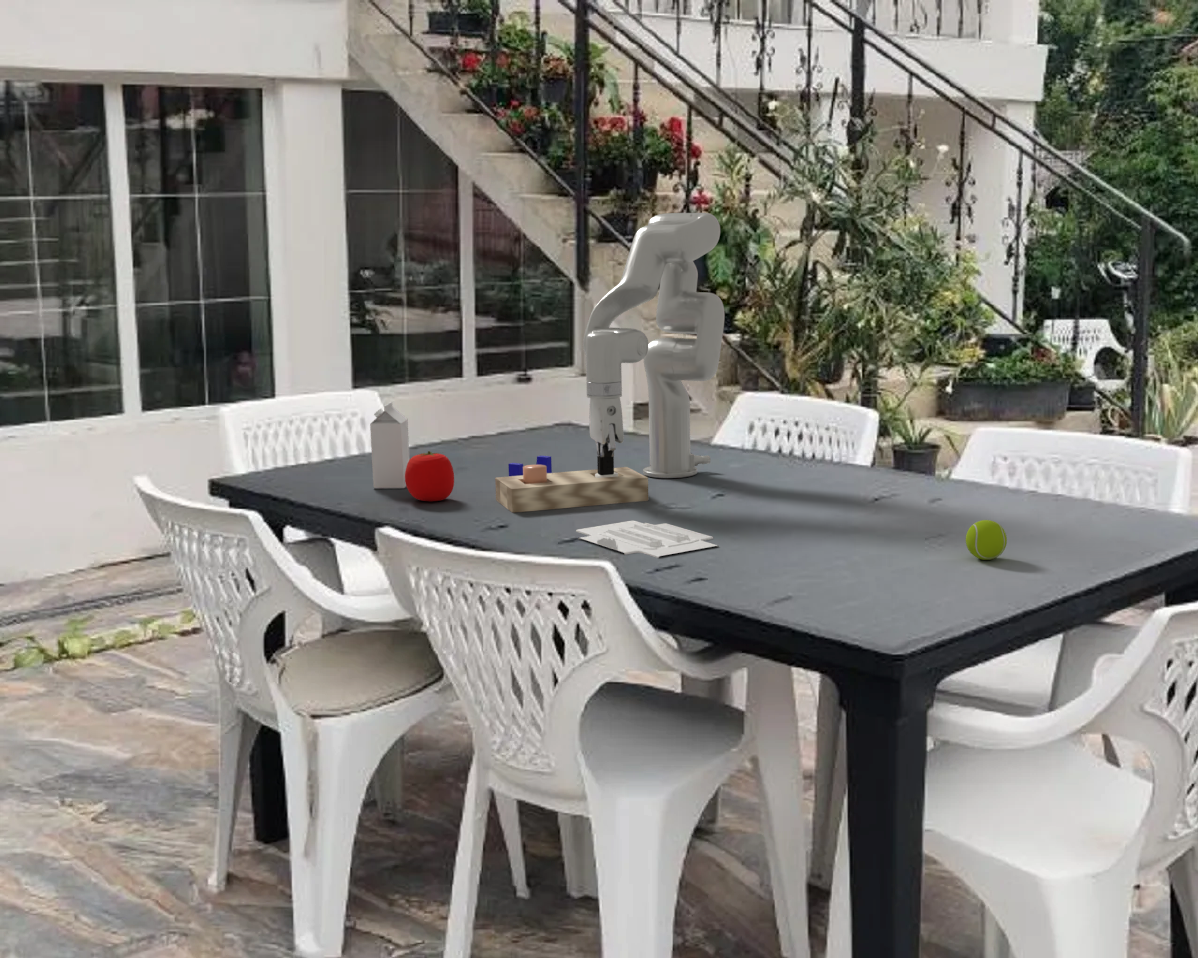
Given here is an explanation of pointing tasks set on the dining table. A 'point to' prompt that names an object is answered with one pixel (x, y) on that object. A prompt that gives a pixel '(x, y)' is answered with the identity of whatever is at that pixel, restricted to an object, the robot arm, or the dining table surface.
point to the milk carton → (389, 448)
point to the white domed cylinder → (606, 475)
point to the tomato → (429, 477)
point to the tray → (646, 538)
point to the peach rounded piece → (534, 474)
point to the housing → (571, 490)
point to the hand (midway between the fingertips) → (605, 474)
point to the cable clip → (517, 468)
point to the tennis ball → (986, 539)
